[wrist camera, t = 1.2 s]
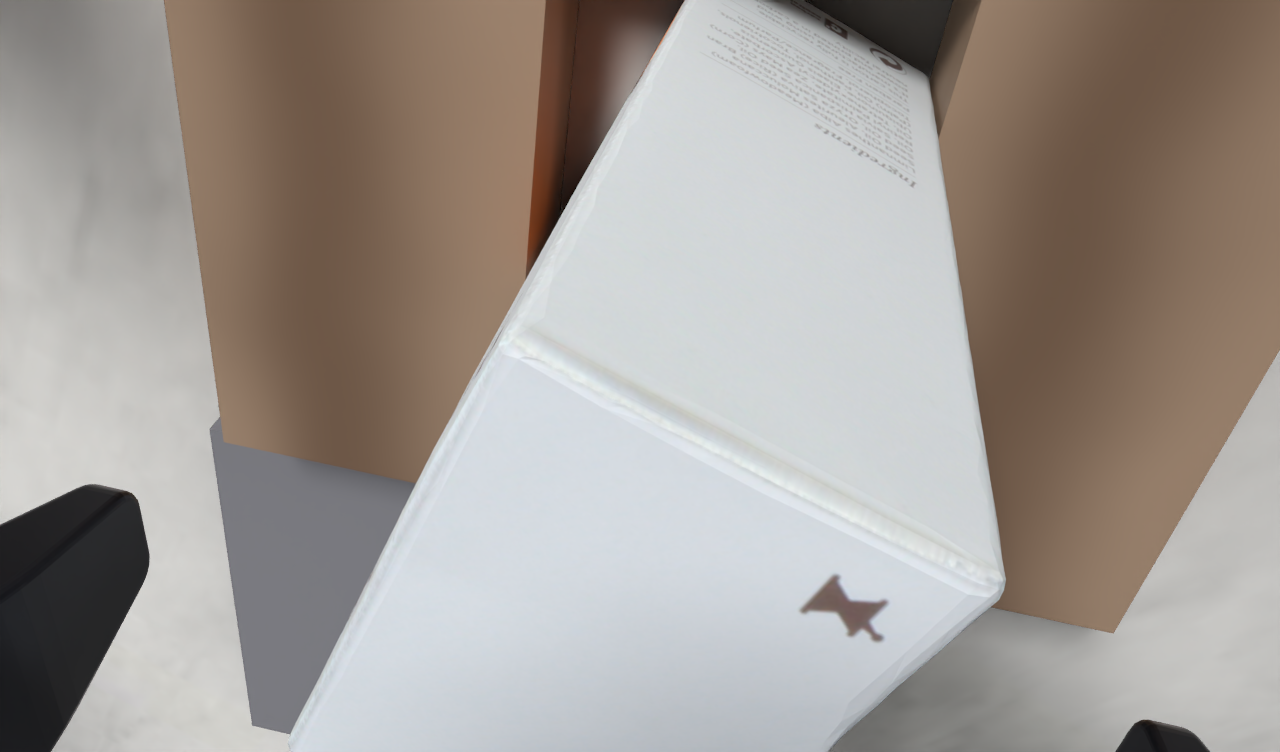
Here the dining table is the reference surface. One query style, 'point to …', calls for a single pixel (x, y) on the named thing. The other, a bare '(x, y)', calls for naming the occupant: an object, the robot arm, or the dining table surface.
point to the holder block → (978, 207)
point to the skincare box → (699, 434)
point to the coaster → (296, 564)
